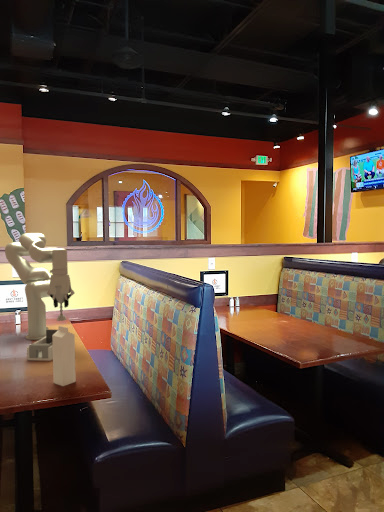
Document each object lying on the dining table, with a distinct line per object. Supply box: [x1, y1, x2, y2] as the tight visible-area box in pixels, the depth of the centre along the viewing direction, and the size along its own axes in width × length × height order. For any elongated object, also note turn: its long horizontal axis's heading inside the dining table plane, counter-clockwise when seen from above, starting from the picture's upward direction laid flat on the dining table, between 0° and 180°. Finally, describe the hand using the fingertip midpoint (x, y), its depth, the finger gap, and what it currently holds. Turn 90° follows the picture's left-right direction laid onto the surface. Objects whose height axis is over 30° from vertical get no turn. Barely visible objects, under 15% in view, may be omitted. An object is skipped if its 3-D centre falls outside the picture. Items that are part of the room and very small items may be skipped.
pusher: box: [39, 328, 59, 352], centre depth 198 cm, size 17×8×9 cm, turn 175°
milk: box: [52, 325, 77, 387], centre depth 159 cm, size 6×6×22 cm
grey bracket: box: [26, 336, 53, 362], centre depth 199 cm, size 21×11×7 cm, turn 175°
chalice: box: [54, 286, 67, 322], centre depth 213 cm, size 7×7×18 cm
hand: (61, 306), depth 213 cm, fingers closed on chalice, 4 cm apart
